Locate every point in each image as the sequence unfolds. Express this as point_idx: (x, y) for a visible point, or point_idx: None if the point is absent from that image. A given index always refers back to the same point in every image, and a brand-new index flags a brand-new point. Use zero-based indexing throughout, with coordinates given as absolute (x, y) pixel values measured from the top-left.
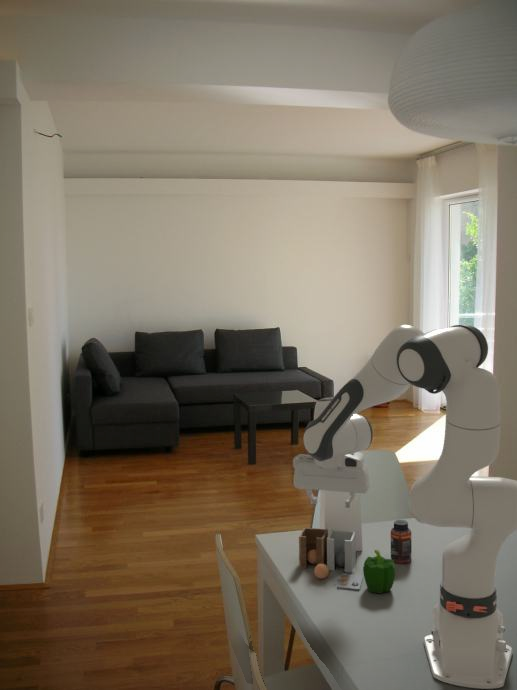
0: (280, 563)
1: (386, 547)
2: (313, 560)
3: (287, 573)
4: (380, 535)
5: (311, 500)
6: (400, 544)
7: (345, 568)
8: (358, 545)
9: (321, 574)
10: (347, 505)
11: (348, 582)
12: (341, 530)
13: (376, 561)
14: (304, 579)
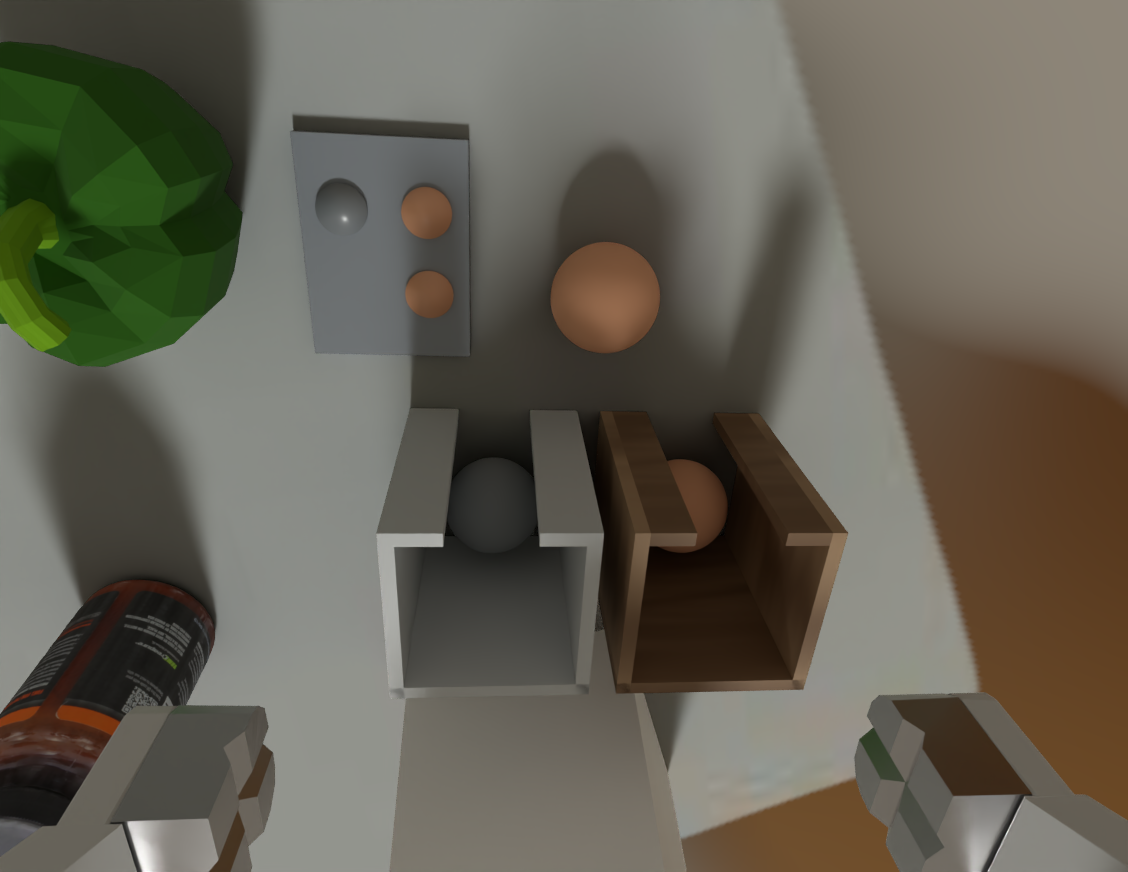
0: (878, 439)
1: (284, 737)
2: (677, 462)
3: (834, 309)
4: (351, 841)
5: (1032, 759)
6: (71, 670)
7: (453, 418)
8: (427, 700)
9: (599, 243)
10: (193, 737)
11: (395, 230)
12: (529, 762)
13: (70, 249)
14: (715, 240)
